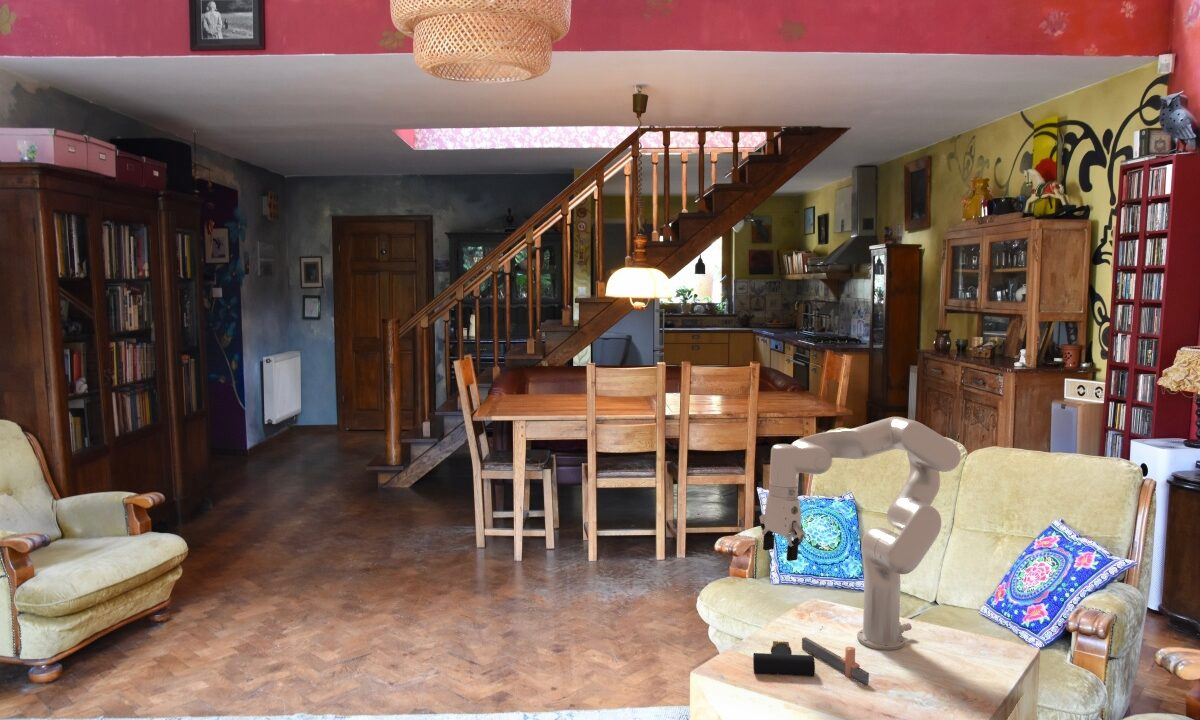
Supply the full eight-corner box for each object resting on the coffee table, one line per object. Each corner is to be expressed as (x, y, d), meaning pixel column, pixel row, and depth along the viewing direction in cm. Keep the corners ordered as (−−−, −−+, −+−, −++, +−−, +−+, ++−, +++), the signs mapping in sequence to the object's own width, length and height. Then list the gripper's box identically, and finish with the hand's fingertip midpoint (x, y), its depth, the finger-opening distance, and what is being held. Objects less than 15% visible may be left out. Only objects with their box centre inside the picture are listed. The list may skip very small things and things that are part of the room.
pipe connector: (752, 638, 227) (809, 640, 225) (751, 657, 228) (809, 659, 226) (754, 657, 216) (815, 660, 214) (754, 677, 216) (814, 680, 215)
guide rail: (807, 647, 233) (807, 622, 232) (870, 684, 211) (871, 656, 211) (800, 648, 232) (800, 624, 231) (863, 686, 210) (863, 658, 210)
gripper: (816, 497, 219) (812, 563, 220) (773, 483, 234) (770, 544, 236) (793, 500, 215) (790, 566, 217) (751, 485, 231) (748, 547, 232)
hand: (779, 554), depth 226 cm, fingers open, 9 cm apart
